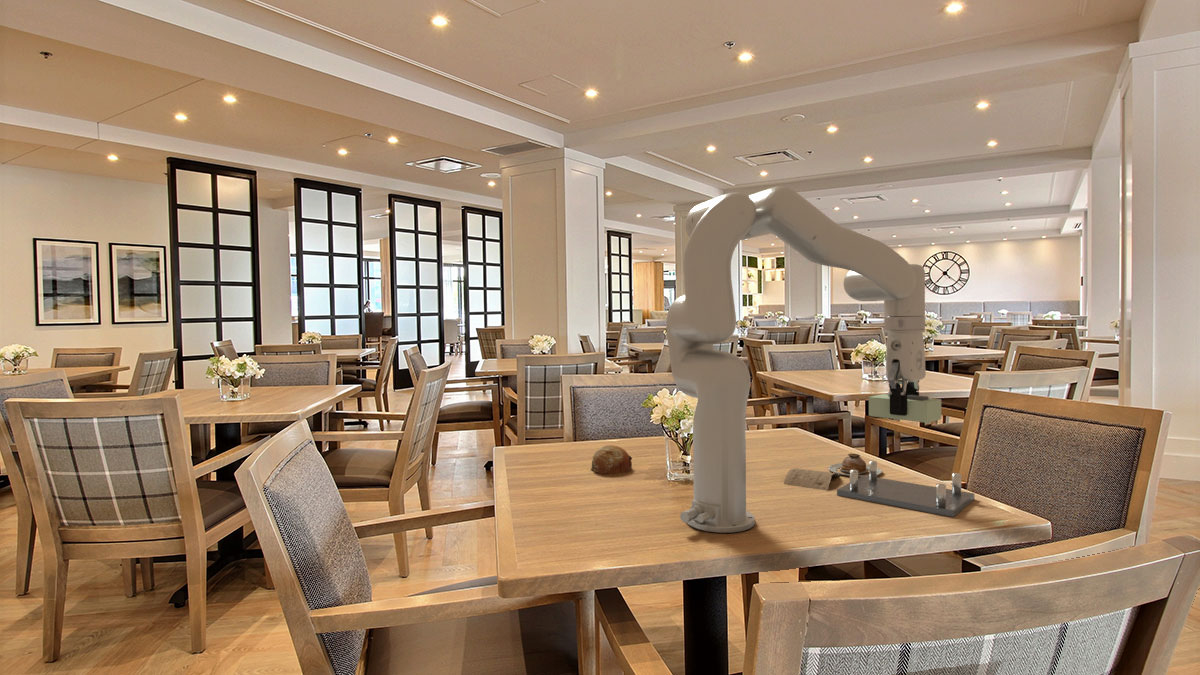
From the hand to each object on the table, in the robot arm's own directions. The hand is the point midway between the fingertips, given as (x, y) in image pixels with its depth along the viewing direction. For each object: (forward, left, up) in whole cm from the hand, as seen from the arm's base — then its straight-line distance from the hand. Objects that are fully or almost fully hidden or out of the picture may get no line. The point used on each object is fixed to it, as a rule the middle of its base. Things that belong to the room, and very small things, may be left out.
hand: (904, 411), depth 129 cm
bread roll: (-22, +62, -18) cm, 68 cm away
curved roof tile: (0, +20, -19) cm, 27 cm away
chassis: (0, 0, -18) cm, 18 cm away
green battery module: (0, 0, -1) cm, 1 cm away
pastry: (+14, +16, -18) cm, 28 cm away
